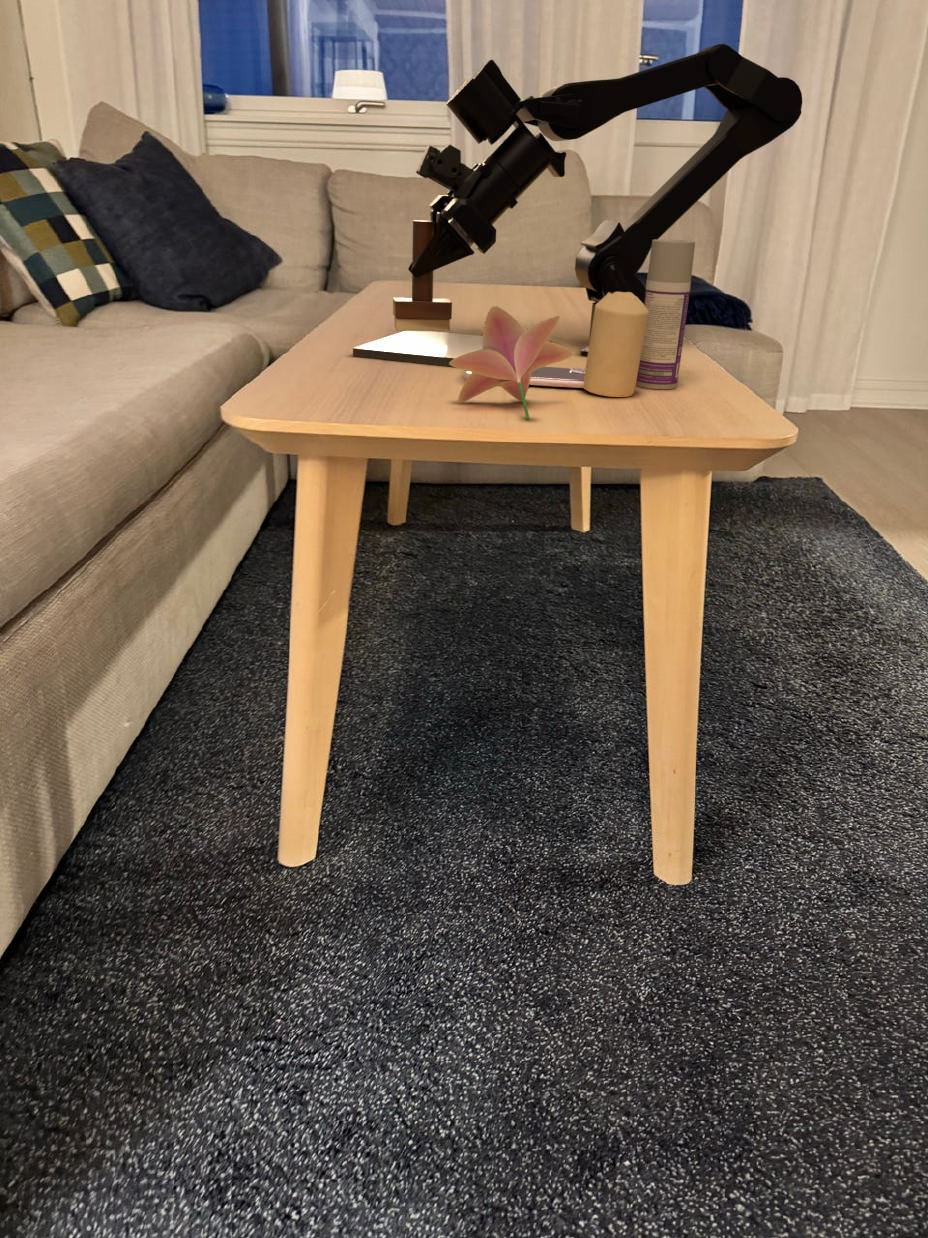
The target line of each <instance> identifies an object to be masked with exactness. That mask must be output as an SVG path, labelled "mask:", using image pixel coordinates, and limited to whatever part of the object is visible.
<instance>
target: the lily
mask: <svg viewBox="0 0 928 1238" xmlns="http://www.w3.org/2000/svg"><path fill="white" fill-rule="evenodd" d="M560 320H561V316H560V315H555V316H553V317H549V318H547V319H545V320H542V321H540V322H538V323H537V324H535V325H533V326H531V327H530V328H528V329H526V330H524V328H523V327H522V325H521V324H520V322H518V321H517V320H516V319H515V317H514V316H512V315H511V314H510V313H508V312H507V311H506V310H505V309H504V308H501V307H500V306H497V305H496V306H492V307H491V308H490V309H489V311H488V313H487V314H486V317H485V321H484V325H483V330H482V336H483V337H482V344H483V349H482V350H477V351H473V352H470V353H467V354H464V355H462V356H459V357H457V358H455V359H453V360H451V361H450V362H449V364H450V365H451V366H454V367H453V368H457V369H459V370H463V371H465V372H466V371H469V372H472V373H471V374H470V375H469V376H468V378H467V379H465V381H464V383H463V385H462V387H461V389H460V392H459V395H458V398H457V402H458V403H459V404H462V403H465V402H467V401H469V400H471V399H473V398H475V397H477V396H478V395H481V394H483V393H485V392H487V391H489V390H492V389H494V388H497V387H499V386H500V387H501V388H502V389H503V390H504V391H505V392H506V393H508V394H509V395H510V396H512V397H513V398H514V399H516V400H518V401H520V402H522V406H523V409H524V410H523V411H524V415H525V418H526V419H525V420H530V415H529V410H528V406H527V402H526V396H527V393H528V390H529V387H530V385H529V383H530V378H531V372H533V371H535V370H537V369H539V368H542V367H548V366H551V365H553V364H556V363H559V362H564V361H565V360H568V359H570V358H571V357H573V356H574V354H573V352H572V351H571V350H570V349H568V348H566V347H564V346H562V345H560V344H557V343H555V342H551V341H548V340H549V338H550V336H551V335H552V333H553V331H554V330H555V328H556V327H557V325H558V323H559V321H560Z"/></svg>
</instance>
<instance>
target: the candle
mask: <svg viewBox="0 0 928 1238" xmlns="http://www.w3.org/2000/svg"><path fill="white" fill-rule="evenodd" d="M648 313H649V311H648V309H647V308H646V306H645V305H644V304H643V303H642V302H641V301H640V300H639V298H638V297H636V296H635V295H634V294H632V293H631V292H614V293H613V294H611V293H610V292H608V294H607V295H606V296H605V297H604V298H602V299H601V300H600V301H599V302H598V303H597V304H596V305H595V310H594V317H593V323H592V330H591V337H590V343H589V342H588V345H589V350H588V355H586V357H587V358H586V362H585V363H586V364H585V369H586V370H585V376H584V384H583V385H584V388H583V389H584V390H585V391H587V392H589V393H591V394H595V395H599V396H605V397H610V398H611V397H612V398H626V397H631V396H633V395H634V394H635V390H636V386H637V385H636V380H637V375H638V369H639V363H640V358H641V352H642V347H643V341H644V336H645V330H646V324H647V319H648Z"/></svg>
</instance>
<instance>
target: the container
mask: <svg viewBox="0 0 928 1238" xmlns="http://www.w3.org/2000/svg"><path fill="white" fill-rule="evenodd" d="M695 249H696V242H695V241H693V240H683V239H666V238H665V239H662V238H659V239H656V240H652V247H651V249H650V253H649V255H650V256H649V261H648V262H649V264H648V270H647V278H646V282H645V283H646V284H645V288H646V290H645V299H644V305H645V306H646V308H647V309H648V311H649V313H648V319H647V324H646V330H645V336H644V341H643V347H642V352H641V358H640V363H639V369H638V375H637V380H636V385H635V386H637V387H640V388H644V389H649V390H650V389H651V390H673V389H676V388H677V387H678V381H679V374H680V367H681V360H682V353H683V344H684V337H685V330H686V322H687V315H688V308H689V300H690V293H691V283H692V274H693V265H694V257H695Z"/></svg>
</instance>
